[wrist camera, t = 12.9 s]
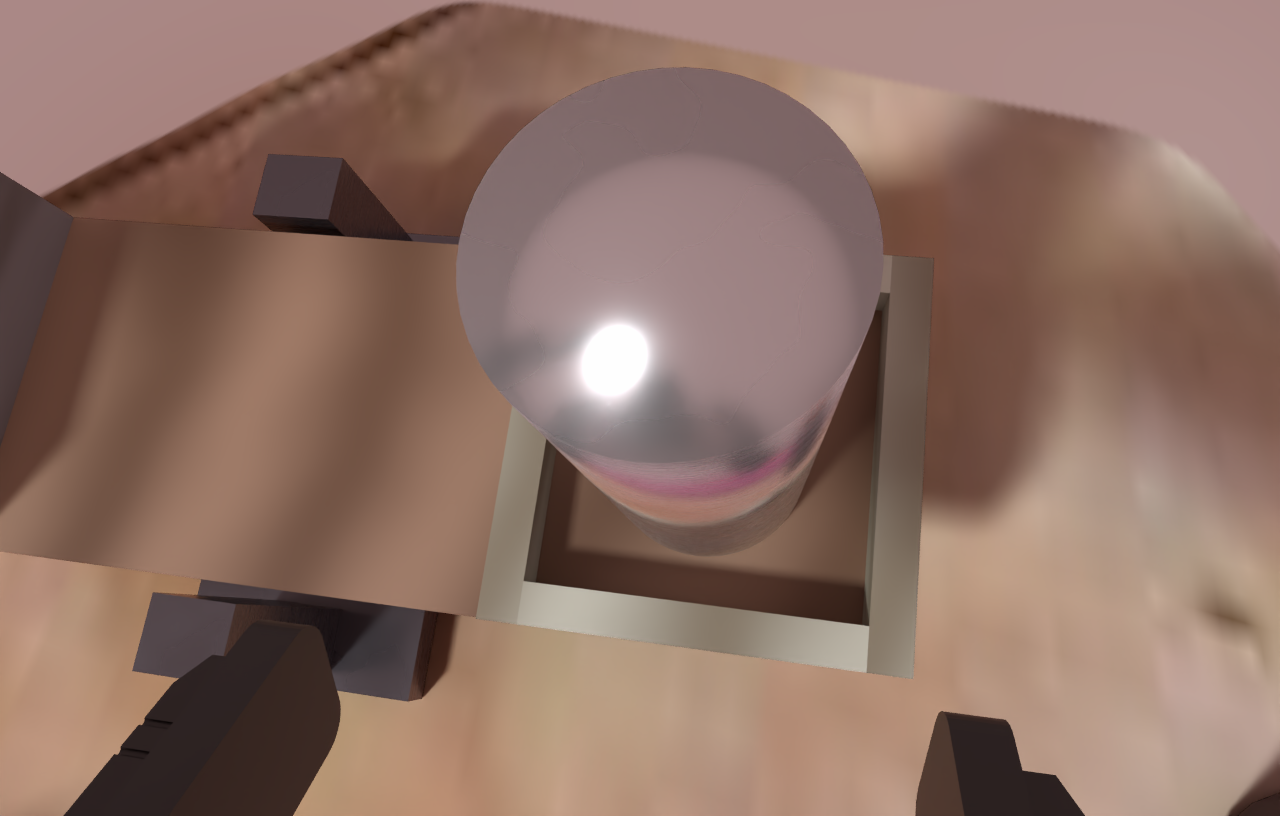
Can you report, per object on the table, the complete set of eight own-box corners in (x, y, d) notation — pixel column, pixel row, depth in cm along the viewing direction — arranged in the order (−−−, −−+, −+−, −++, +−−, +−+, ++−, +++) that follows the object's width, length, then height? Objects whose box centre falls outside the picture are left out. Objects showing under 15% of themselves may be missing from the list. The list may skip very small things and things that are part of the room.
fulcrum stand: (202, 664, 29) (31, 675, 22) (306, 239, 33) (188, 135, 26) (422, 698, 28) (314, 721, 21) (503, 253, 31) (435, 147, 25)
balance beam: (-142, 530, 25) (-363, 506, 20) (-35, 225, 27) (-208, 134, 22) (894, 673, 21) (942, 687, 16) (914, 295, 23) (962, 203, 18)
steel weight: (597, 544, 21) (419, 439, 10) (623, 355, 22) (494, 61, 11) (799, 568, 20) (869, 485, 9) (814, 372, 22) (895, 74, 10)
